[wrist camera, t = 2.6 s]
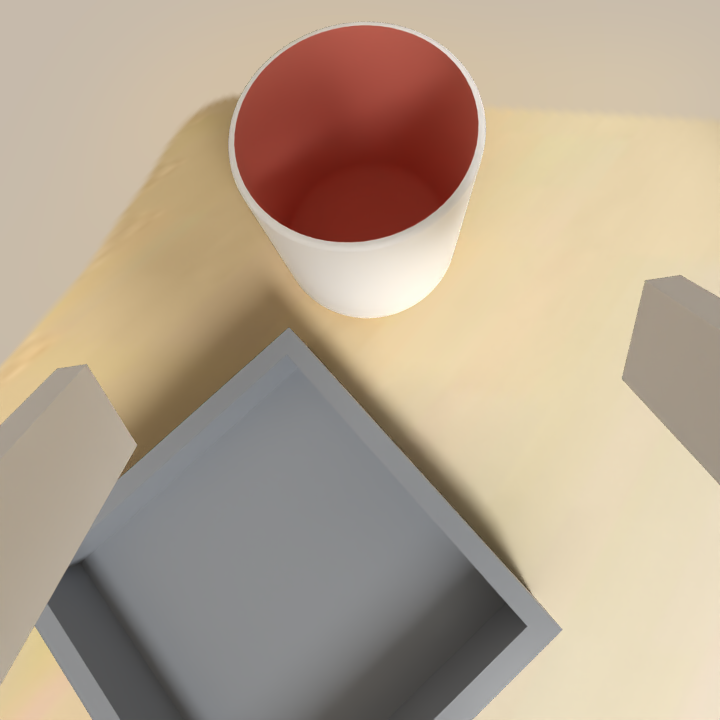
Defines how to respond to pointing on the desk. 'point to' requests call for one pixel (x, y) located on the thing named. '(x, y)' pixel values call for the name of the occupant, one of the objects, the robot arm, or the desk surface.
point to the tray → (286, 572)
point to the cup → (360, 162)
